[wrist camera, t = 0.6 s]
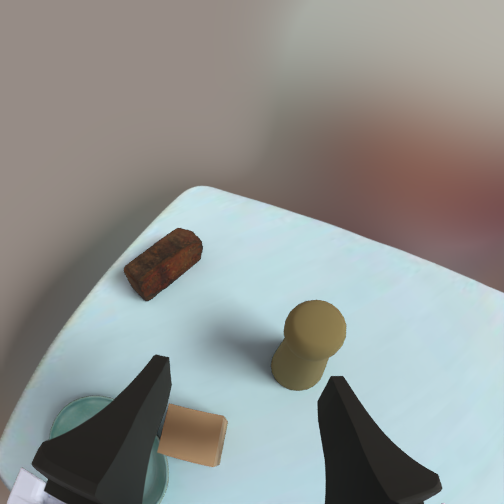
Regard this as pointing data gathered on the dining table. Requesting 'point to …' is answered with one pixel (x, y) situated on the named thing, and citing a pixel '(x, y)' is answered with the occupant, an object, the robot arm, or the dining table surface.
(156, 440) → the saucer
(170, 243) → the brick
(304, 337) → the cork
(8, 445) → the dining table surface
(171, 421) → the walnut block
